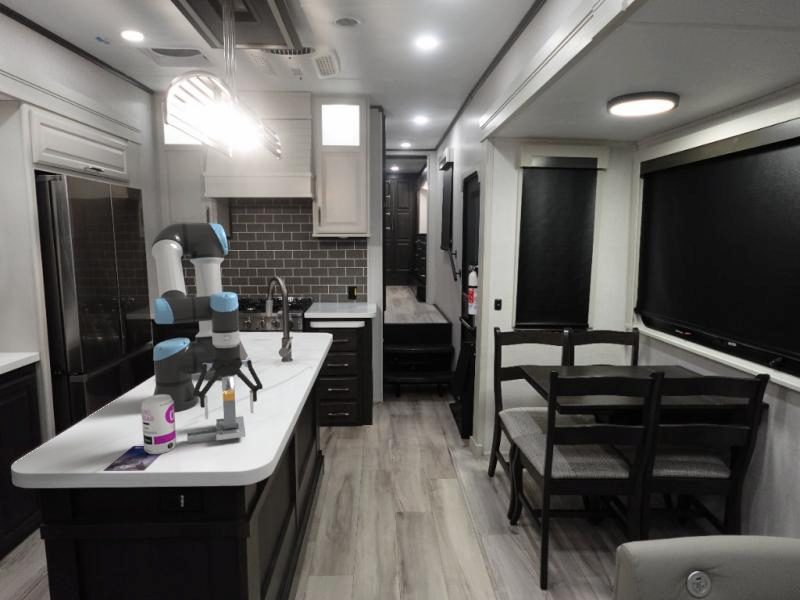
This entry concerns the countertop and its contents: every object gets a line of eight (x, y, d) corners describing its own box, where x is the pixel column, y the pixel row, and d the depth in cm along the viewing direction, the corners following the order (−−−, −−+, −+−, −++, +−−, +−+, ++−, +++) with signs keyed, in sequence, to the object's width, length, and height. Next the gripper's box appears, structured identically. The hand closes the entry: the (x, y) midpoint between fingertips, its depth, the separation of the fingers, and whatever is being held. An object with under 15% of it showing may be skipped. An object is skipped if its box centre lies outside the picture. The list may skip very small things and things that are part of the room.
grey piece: (186, 449, 138) (183, 395, 135) (190, 426, 154) (187, 377, 151) (245, 441, 143) (243, 389, 141) (242, 419, 159) (240, 372, 157)
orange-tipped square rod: (225, 439, 144) (222, 394, 142) (224, 434, 147) (222, 391, 145) (236, 437, 146) (234, 393, 143) (236, 433, 149) (234, 389, 146)
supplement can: (181, 442, 142) (178, 393, 140) (168, 455, 134) (165, 403, 132) (153, 442, 142) (149, 393, 140) (139, 455, 134) (135, 403, 132)
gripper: (180, 351, 135) (184, 424, 138) (270, 344, 143) (272, 413, 146) (182, 345, 142) (186, 415, 145) (267, 339, 150) (270, 405, 153)
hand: (229, 414), depth 145 cm, fingers open, 12 cm apart
